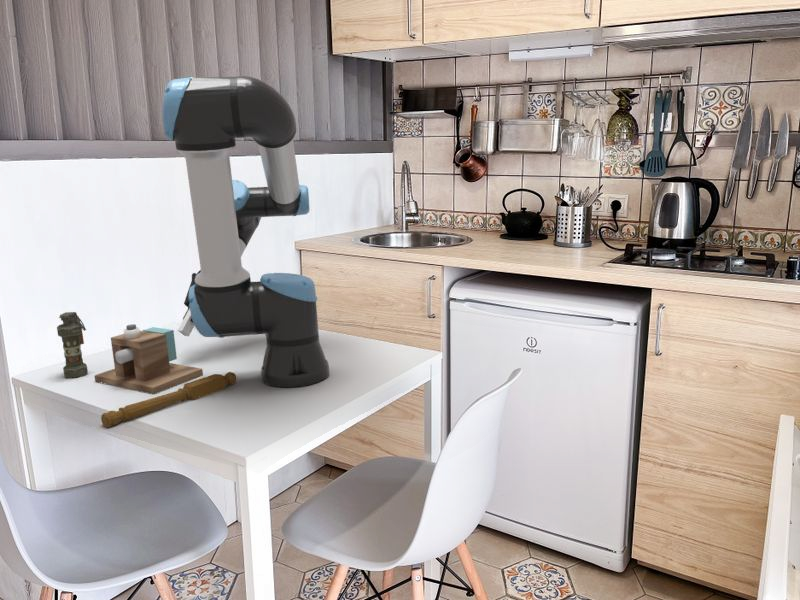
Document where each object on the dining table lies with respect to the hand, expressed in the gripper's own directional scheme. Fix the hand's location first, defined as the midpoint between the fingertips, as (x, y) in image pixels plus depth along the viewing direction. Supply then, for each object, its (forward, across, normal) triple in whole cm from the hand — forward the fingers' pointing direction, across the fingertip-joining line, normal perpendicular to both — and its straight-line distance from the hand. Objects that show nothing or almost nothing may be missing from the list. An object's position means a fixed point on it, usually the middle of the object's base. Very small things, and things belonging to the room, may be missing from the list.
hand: (183, 333), depth 164 cm
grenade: (+17, +19, +6) cm, 26 cm away
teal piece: (+12, 0, +6) cm, 13 cm away
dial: (+8, 0, +12) cm, 15 cm away
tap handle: (+20, -19, +9) cm, 29 cm away
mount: (+14, 0, +3) cm, 14 cm away
